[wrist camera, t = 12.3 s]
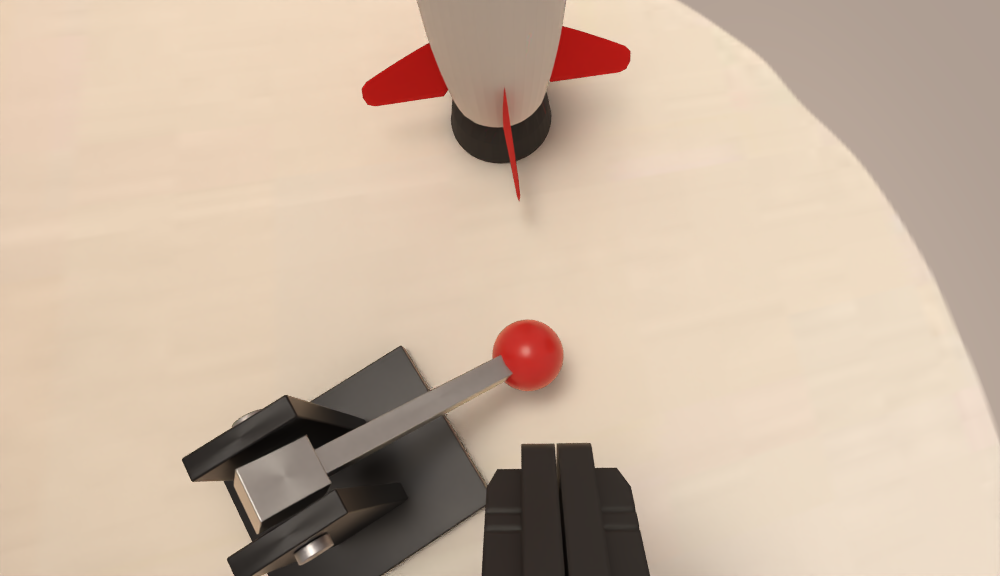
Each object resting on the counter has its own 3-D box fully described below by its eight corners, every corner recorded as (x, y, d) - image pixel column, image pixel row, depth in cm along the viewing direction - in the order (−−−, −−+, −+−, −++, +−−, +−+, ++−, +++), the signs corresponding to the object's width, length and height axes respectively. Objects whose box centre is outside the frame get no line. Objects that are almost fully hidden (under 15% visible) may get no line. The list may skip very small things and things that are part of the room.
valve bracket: (405, 348, 36) (342, 287, 24) (495, 499, 34) (476, 515, 22) (224, 461, 35) (60, 456, 23) (303, 627, 32) (166, 723, 20)
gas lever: (521, 329, 34) (548, 297, 31) (557, 383, 33) (589, 356, 30) (225, 473, 25) (226, 447, 22) (263, 554, 24) (270, 537, 21)
